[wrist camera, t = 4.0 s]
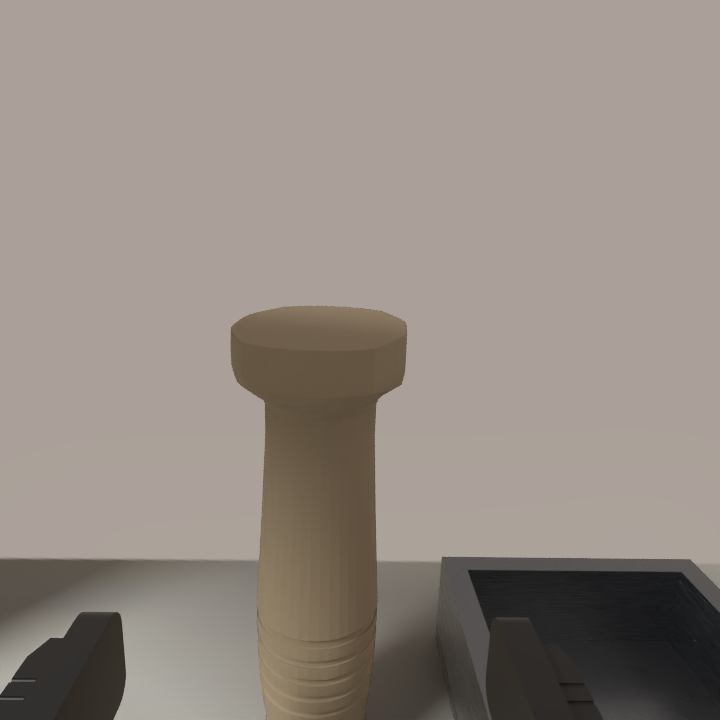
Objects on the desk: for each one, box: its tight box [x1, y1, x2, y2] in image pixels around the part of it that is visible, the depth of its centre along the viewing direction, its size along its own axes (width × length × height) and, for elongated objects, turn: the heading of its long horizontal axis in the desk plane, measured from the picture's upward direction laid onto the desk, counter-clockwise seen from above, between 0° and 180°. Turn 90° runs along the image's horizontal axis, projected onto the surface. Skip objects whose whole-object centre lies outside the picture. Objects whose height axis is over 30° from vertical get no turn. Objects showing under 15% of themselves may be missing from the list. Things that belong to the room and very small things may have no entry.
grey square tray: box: [436, 557, 720, 720], centre depth 20 cm, size 11×11×4 cm
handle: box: [231, 306, 407, 720], centre depth 19 cm, size 5×6×15 cm
